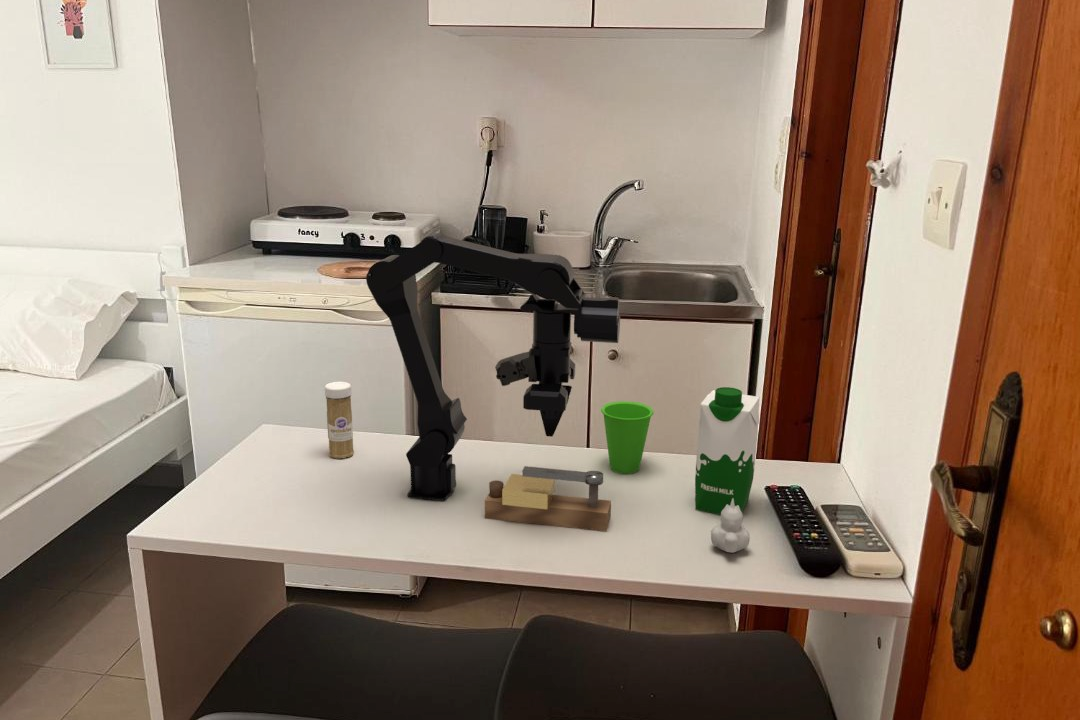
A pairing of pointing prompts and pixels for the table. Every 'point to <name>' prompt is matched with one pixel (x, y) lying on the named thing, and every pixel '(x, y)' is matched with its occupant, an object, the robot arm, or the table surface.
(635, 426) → the cup
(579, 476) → the lever
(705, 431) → the milk carton
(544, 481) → the gold metal plate
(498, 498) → the body
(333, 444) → the sprinkles bottle
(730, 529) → the white toy figurine
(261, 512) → the table surface
